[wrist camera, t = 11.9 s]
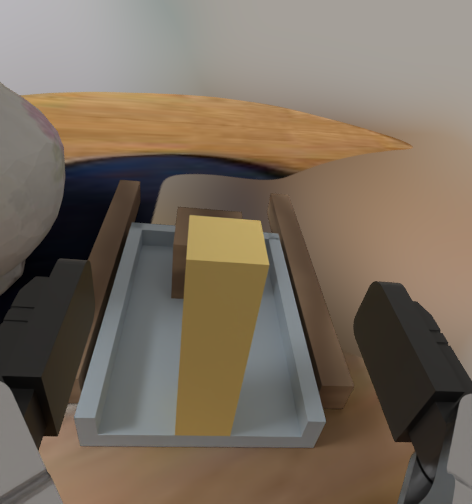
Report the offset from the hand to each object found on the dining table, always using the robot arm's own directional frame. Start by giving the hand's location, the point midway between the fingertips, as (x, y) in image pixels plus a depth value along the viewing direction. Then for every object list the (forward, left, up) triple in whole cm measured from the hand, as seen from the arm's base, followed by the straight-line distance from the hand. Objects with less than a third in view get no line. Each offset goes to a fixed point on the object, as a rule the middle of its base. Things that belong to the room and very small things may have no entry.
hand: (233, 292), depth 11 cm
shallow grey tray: (0, +12, -14) cm, 18 cm away
